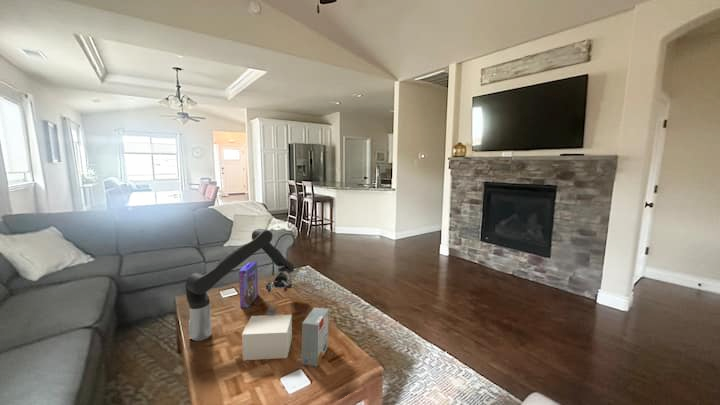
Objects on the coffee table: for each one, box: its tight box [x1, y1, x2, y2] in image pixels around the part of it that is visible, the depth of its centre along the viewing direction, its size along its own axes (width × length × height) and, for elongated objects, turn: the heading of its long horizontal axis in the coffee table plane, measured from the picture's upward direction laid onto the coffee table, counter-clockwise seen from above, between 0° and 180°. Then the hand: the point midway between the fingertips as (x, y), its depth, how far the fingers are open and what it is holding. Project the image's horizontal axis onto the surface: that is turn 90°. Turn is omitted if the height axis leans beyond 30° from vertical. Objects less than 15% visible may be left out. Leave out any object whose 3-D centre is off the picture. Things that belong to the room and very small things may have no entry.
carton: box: [241, 315, 293, 361], centre depth 140 cm, size 20×16×12 cm
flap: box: [241, 307, 293, 337], centre depth 140 cm, size 20×19×4 cm
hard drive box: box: [301, 307, 329, 368], centre depth 135 cm, size 16×8×20 cm, turn 168°
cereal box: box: [238, 260, 259, 309], centre depth 187 cm, size 17×5×24 cm, turn 179°
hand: (277, 290), depth 161 cm, fingers open, 8 cm apart
